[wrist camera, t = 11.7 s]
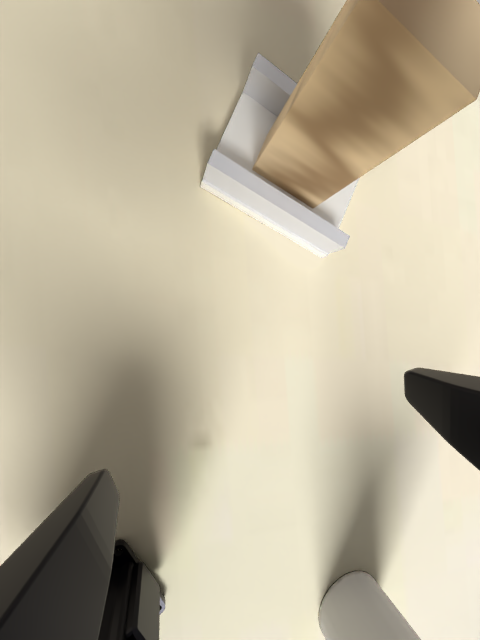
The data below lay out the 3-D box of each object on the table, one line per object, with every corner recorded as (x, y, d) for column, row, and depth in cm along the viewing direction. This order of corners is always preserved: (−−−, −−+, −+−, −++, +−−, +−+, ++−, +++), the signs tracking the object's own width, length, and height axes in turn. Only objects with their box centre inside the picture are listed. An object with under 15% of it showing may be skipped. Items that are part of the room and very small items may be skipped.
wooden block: (326, 174, 20) (502, 31, 10) (312, 208, 20) (476, 99, 10) (267, 133, 19) (399, -90, 8) (251, 169, 19) (366, -12, 8)
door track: (358, 169, 22) (384, 150, 19) (321, 257, 21) (343, 250, 19) (246, 86, 19) (259, 49, 16) (200, 186, 18) (206, 165, 16)
